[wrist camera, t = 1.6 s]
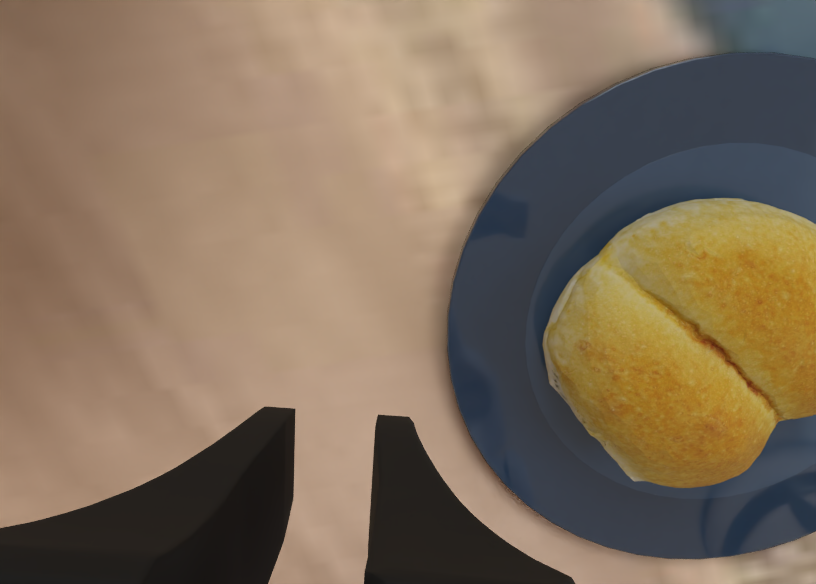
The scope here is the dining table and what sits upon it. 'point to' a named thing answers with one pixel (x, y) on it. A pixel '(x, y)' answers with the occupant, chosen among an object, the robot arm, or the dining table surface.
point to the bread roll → (690, 339)
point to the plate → (582, 241)
